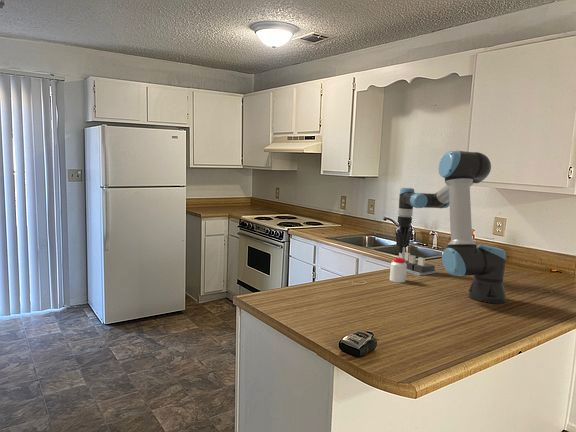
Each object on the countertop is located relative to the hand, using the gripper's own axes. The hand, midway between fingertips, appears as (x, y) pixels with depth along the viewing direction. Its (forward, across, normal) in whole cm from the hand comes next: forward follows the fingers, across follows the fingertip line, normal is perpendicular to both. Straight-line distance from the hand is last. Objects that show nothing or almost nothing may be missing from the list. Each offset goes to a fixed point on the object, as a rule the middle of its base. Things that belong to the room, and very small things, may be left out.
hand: (401, 258), depth 241 cm
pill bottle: (+6, +22, +16) cm, 28 cm away
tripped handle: (+1, -4, 0) cm, 5 cm away
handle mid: (+1, -1, +6) cm, 6 cm away
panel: (+6, -4, +6) cm, 9 cm away
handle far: (+1, -1, +12) cm, 12 cm away
